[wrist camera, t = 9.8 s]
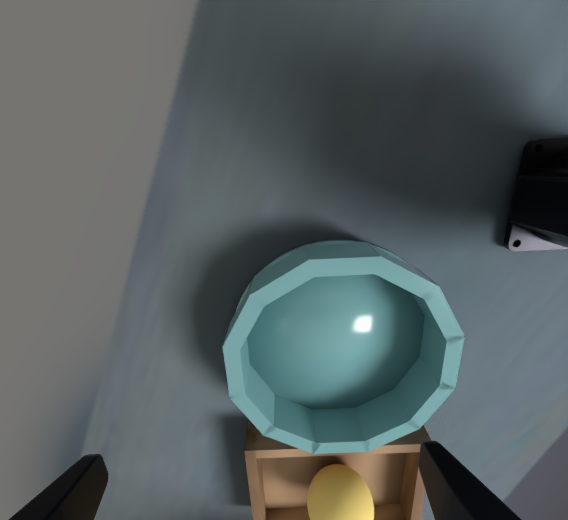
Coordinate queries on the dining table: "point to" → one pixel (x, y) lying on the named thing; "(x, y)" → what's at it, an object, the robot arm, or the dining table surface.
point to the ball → (339, 495)
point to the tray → (304, 466)
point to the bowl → (341, 348)
